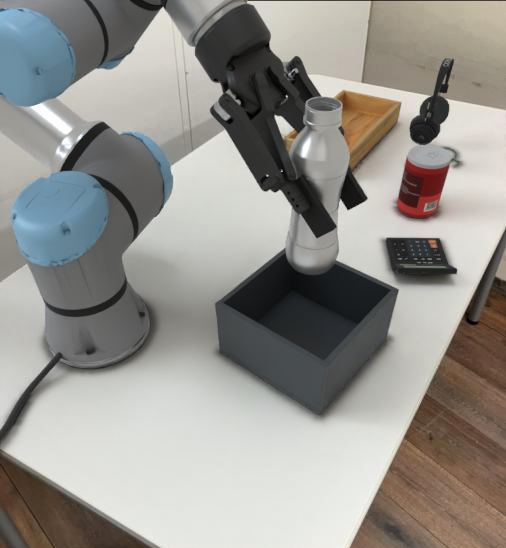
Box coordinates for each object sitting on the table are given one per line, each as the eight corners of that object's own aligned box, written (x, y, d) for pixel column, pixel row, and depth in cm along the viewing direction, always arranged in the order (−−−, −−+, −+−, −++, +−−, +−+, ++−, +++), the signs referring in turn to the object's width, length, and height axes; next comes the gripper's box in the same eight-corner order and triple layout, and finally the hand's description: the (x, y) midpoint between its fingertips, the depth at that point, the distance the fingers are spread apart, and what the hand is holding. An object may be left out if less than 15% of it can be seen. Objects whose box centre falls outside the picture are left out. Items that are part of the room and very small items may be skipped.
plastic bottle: (308, 289, 61) (322, 125, 47) (273, 261, 65) (276, 101, 50) (347, 268, 64) (372, 107, 49) (312, 242, 68) (325, 85, 53)
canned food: (440, 201, 101) (455, 148, 92) (432, 223, 96) (447, 169, 88) (401, 193, 103) (413, 140, 95) (391, 214, 98) (403, 160, 90)
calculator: (438, 242, 92) (442, 228, 90) (452, 284, 84) (458, 270, 82) (385, 241, 92) (388, 227, 90) (395, 283, 84) (398, 269, 82)
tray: (340, 110, 130) (343, 87, 125) (397, 124, 124) (402, 100, 120) (281, 163, 112) (282, 138, 108) (345, 181, 106) (348, 155, 102)
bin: (319, 415, 67) (325, 367, 60) (219, 352, 75) (214, 303, 67) (386, 338, 76) (399, 289, 69) (291, 289, 84) (294, 240, 77)
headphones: (451, 182, 105) (481, 80, 91) (397, 171, 109) (418, 71, 94) (464, 150, 115) (494, 53, 100) (414, 140, 118) (436, 45, 103)
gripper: (256, 26, 60) (360, 194, 65) (139, 78, 50) (273, 272, 55) (296, -21, 54) (407, 168, 59) (171, 26, 44) (319, 250, 49)
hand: (342, 218), depth 57 cm, fingers closed on plastic bottle, 6 cm apart
